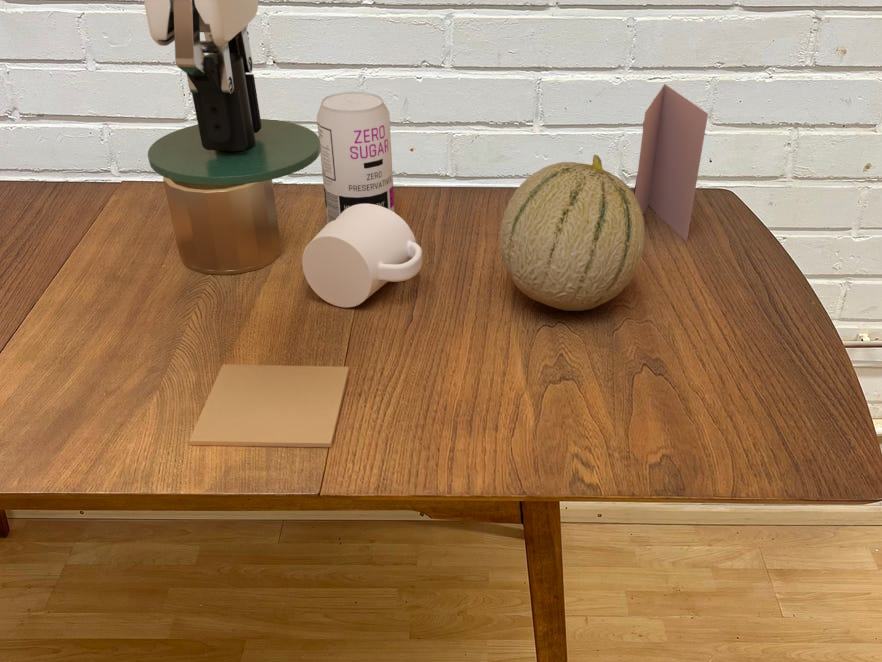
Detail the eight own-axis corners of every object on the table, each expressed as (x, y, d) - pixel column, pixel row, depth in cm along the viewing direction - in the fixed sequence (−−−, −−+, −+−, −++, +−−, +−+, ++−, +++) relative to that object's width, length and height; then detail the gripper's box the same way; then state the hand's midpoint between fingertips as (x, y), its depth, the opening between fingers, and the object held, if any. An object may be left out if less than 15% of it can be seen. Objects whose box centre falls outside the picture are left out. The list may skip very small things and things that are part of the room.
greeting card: (641, 204, 116) (657, 83, 106) (698, 212, 114) (720, 90, 104) (622, 239, 108) (637, 111, 98) (683, 249, 106) (705, 119, 96)
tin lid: (237, 208, 60) (217, 95, 55) (115, 170, 65) (87, 64, 60) (355, 153, 68) (346, 51, 63) (238, 124, 73) (222, 27, 68)
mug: (299, 299, 95) (290, 228, 90) (339, 263, 102) (333, 195, 97) (402, 319, 92) (399, 247, 87) (436, 280, 99) (435, 211, 94)
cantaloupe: (474, 316, 93) (476, 174, 83) (529, 260, 103) (536, 128, 93) (609, 350, 88) (627, 203, 78) (653, 287, 98) (673, 151, 88)
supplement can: (351, 210, 113) (341, 86, 104) (407, 222, 111) (402, 96, 101) (315, 233, 108) (300, 105, 98) (373, 247, 105) (364, 116, 96)
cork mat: (189, 445, 75) (188, 440, 75) (223, 368, 84) (222, 364, 84) (331, 447, 75) (331, 443, 75) (349, 370, 84) (349, 366, 84)
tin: (230, 284, 98) (215, 200, 91) (160, 257, 102) (141, 176, 96) (301, 247, 105) (291, 167, 99) (232, 224, 110) (219, 146, 104)
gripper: (164, -180, 60) (215, 104, 72) (61, -160, 47) (144, 181, 59) (273, -179, 60) (307, 106, 71) (200, -159, 47) (255, 183, 59)
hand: (232, 137), depth 65 cm, fingers closed on tin lid, 3 cm apart
